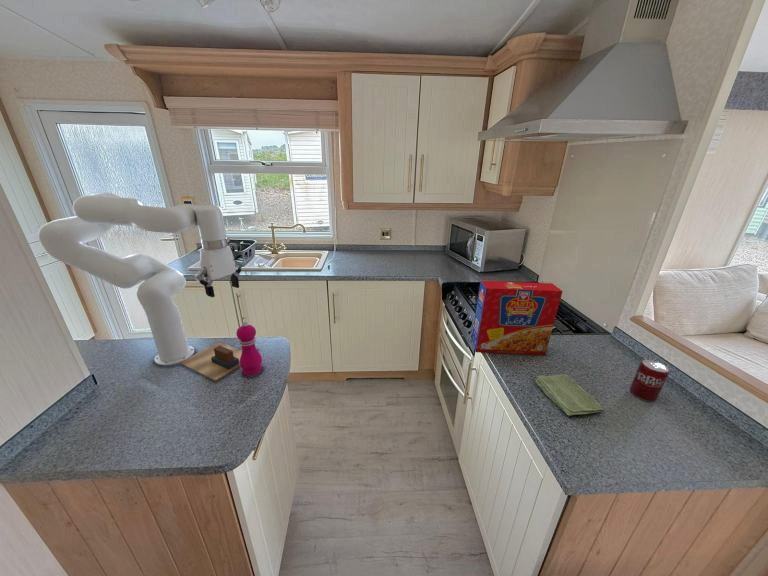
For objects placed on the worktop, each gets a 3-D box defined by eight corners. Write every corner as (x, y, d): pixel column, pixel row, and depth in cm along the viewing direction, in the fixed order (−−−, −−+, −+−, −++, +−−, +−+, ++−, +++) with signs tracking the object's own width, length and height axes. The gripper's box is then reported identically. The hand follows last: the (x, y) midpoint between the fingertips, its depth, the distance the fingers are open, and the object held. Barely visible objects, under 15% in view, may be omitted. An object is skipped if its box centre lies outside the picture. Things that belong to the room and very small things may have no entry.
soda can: (631, 384, 107) (643, 356, 103) (657, 395, 102) (671, 365, 98) (627, 394, 102) (639, 365, 98) (654, 406, 98) (669, 375, 93)
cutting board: (179, 364, 111) (179, 362, 111) (219, 343, 124) (219, 341, 124) (215, 382, 102) (215, 380, 102) (254, 357, 116) (254, 356, 115)
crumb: (237, 350, 120) (237, 348, 120) (244, 346, 123) (243, 344, 122) (243, 352, 119) (242, 350, 118) (249, 348, 121) (249, 346, 121)
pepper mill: (255, 379, 104) (247, 328, 97) (237, 376, 106) (227, 325, 98) (267, 366, 111) (260, 318, 103) (249, 364, 112) (241, 315, 105)
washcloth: (568, 420, 91) (570, 411, 90) (531, 381, 107) (533, 373, 106) (605, 414, 94) (608, 406, 92) (564, 377, 110) (566, 370, 109)
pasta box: (475, 352, 123) (486, 288, 113) (470, 341, 131) (480, 280, 120) (545, 355, 123) (562, 291, 112) (536, 344, 130) (552, 283, 120)
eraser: (211, 362, 111) (208, 349, 109) (222, 355, 115) (220, 343, 113) (228, 369, 107) (225, 356, 105) (239, 363, 111) (236, 350, 109)
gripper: (230, 237, 110) (237, 282, 116) (181, 248, 95) (193, 298, 102) (244, 240, 106) (251, 285, 113) (196, 251, 92) (207, 302, 99)
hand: (223, 291), depth 107 cm, fingers open, 9 cm apart
